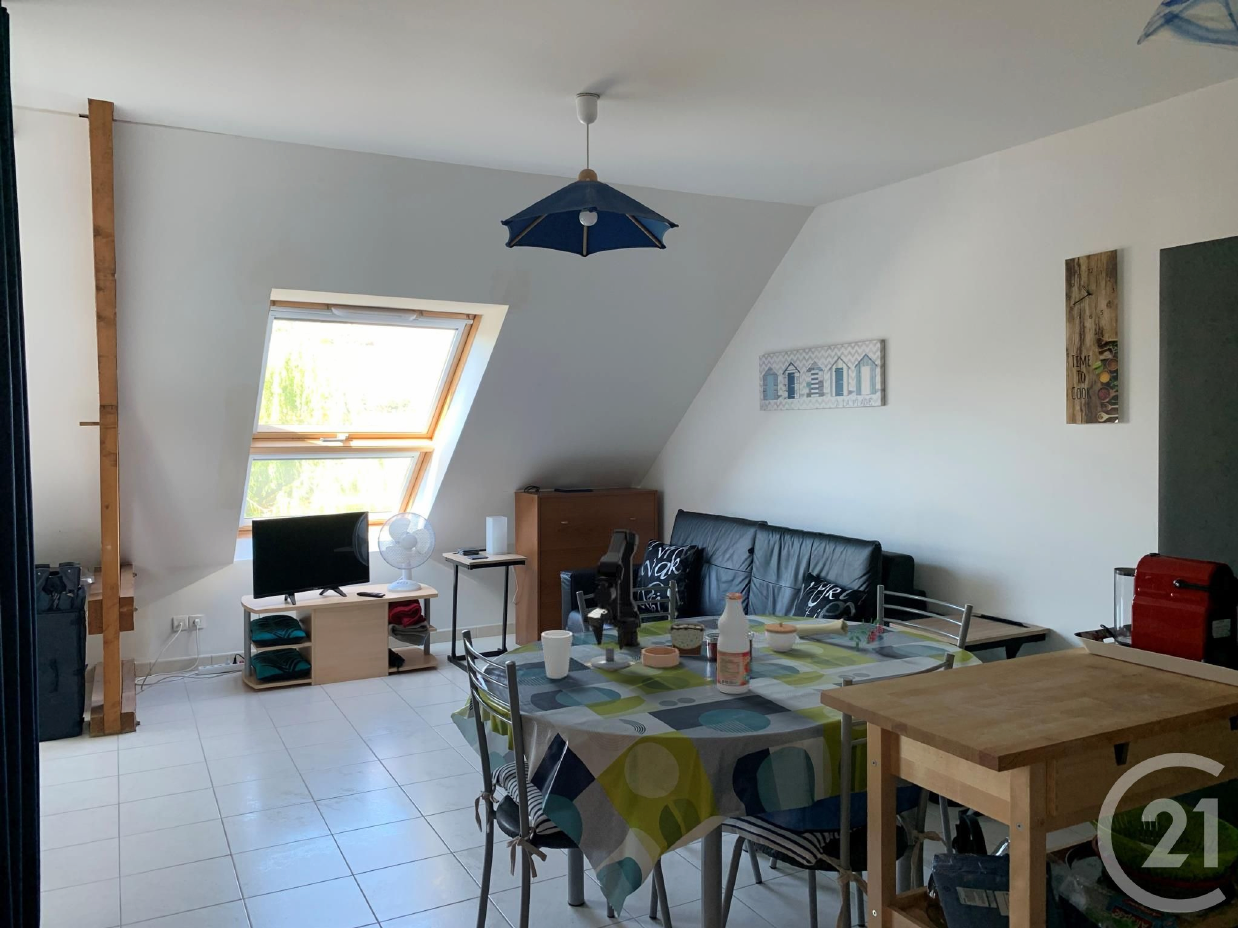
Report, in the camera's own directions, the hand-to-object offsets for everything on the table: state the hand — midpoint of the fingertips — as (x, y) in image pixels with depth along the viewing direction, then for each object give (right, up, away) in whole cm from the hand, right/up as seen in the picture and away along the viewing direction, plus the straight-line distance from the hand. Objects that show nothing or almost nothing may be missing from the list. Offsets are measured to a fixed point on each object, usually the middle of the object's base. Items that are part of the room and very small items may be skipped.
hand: (610, 647), depth 295 cm
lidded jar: (+58, -5, +20) cm, 62 cm away
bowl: (+16, -6, +2) cm, 17 cm away
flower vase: (+80, -5, +25) cm, 83 cm away
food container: (+26, -5, +15) cm, 30 cm away
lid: (0, -5, 0) cm, 5 cm away
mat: (0, -6, 0) cm, 6 cm away
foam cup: (-16, -7, -12) cm, 21 cm away
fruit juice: (+36, -7, -27) cm, 46 cm away
